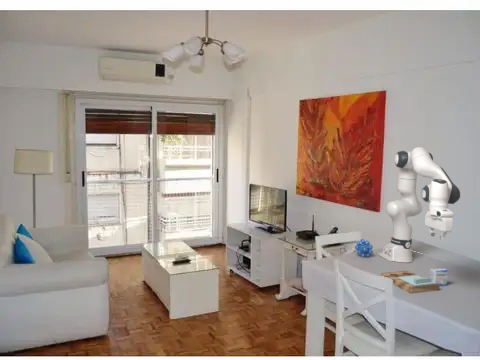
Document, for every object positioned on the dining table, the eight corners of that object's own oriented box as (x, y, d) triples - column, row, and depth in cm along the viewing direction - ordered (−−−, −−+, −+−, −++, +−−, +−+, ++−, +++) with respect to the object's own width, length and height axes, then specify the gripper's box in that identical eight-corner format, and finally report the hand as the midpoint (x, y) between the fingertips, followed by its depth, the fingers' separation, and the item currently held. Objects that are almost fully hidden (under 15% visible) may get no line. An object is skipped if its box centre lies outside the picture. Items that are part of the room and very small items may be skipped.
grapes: (355, 258, 283) (356, 240, 282) (353, 255, 290) (354, 237, 289) (373, 259, 283) (375, 241, 281) (371, 256, 289) (372, 238, 288)
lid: (398, 278, 236) (398, 273, 236) (417, 276, 240) (417, 271, 240) (415, 286, 224) (415, 280, 224) (434, 284, 229) (434, 278, 228)
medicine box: (434, 286, 235) (435, 270, 234) (428, 283, 239) (430, 268, 238) (447, 285, 237) (448, 270, 236) (441, 282, 241) (442, 267, 240)
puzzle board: (380, 278, 245) (381, 272, 245) (406, 275, 252) (407, 270, 251) (411, 293, 223) (411, 287, 223) (439, 290, 229) (439, 284, 229)
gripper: (422, 208, 236) (421, 234, 237) (443, 214, 216) (442, 242, 216) (433, 208, 236) (432, 233, 237) (455, 214, 216) (454, 241, 217)
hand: (437, 237), depth 227 cm, fingers open, 8 cm apart
